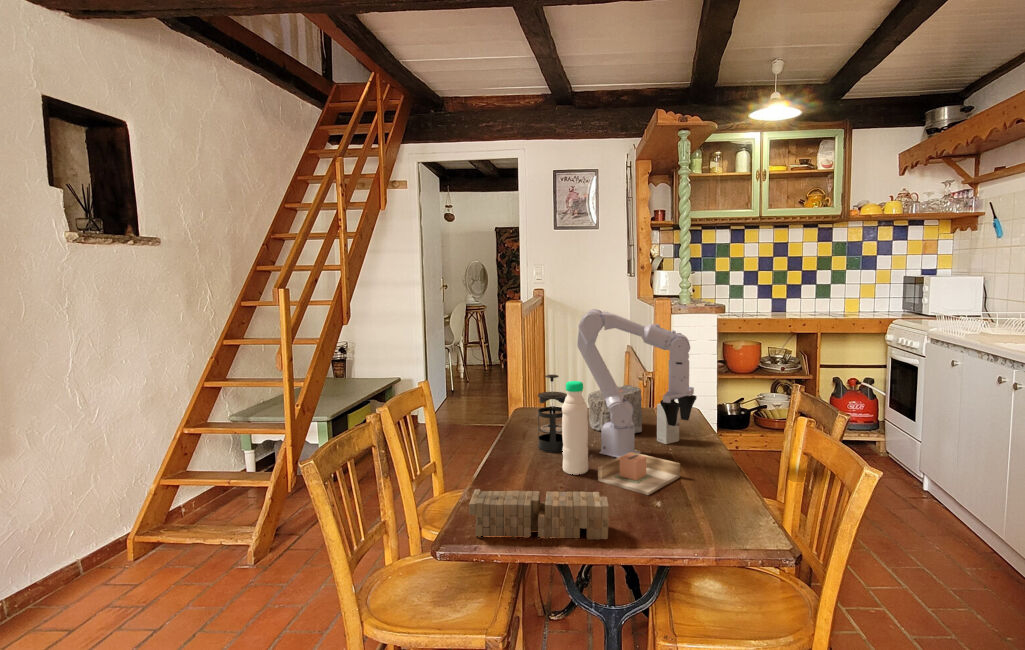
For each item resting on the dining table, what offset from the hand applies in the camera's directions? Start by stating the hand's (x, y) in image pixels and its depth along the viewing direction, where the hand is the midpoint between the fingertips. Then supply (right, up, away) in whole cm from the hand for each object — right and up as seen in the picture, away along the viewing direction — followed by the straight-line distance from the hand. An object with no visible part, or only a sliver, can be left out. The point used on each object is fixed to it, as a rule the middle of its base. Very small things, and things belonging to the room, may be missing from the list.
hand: (678, 422), depth 173 cm
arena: (-15, -13, -15) cm, 24 cm away
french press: (-35, -10, +13) cm, 39 cm away
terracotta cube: (-16, -11, -16) cm, 25 cm away
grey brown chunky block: (-13, -8, +33) cm, 36 cm away
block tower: (-42, -17, -43) cm, 63 cm away
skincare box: (+1, -9, +17) cm, 19 cm away
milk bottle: (-31, -12, -8) cm, 34 cm away
